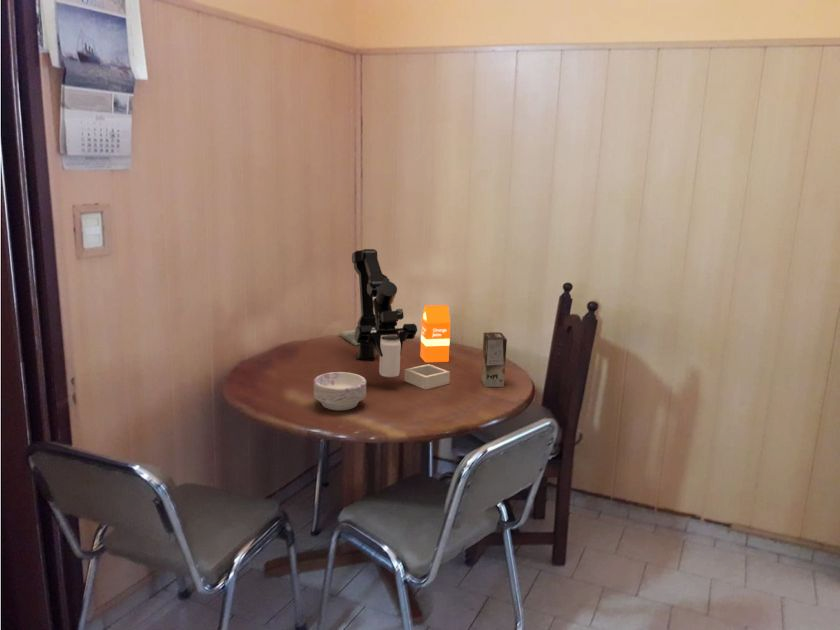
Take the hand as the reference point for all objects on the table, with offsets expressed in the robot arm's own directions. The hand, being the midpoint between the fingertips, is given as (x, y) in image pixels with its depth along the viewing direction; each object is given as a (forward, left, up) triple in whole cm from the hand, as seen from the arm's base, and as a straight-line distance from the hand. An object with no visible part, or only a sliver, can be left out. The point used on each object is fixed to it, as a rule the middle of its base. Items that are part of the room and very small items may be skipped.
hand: (390, 355), depth 214 cm
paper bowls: (+18, -11, -11) cm, 24 cm away
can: (-1, -1, -7) cm, 7 cm away
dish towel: (-56, -19, -12) cm, 61 cm away
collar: (-9, +11, -11) cm, 18 cm away
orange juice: (-36, +10, -11) cm, 39 cm away
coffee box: (-14, +32, -11) cm, 36 cm away
